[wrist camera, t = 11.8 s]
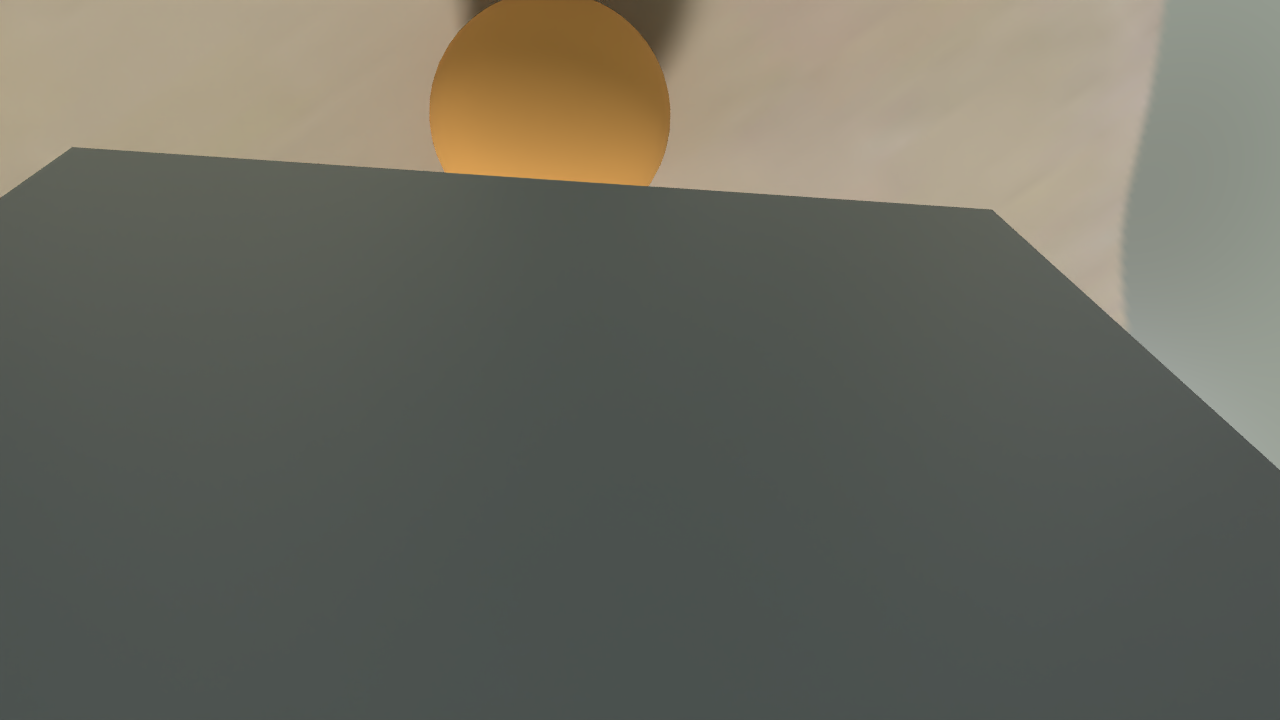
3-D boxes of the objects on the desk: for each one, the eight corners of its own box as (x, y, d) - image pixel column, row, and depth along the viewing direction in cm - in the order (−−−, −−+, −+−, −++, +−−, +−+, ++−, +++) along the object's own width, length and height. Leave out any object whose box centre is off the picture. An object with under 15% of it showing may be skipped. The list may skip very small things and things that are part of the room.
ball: (425, 281, 24) (444, 141, 27) (665, 289, 24) (653, 149, 28) (410, 70, 20) (434, -61, 24) (691, 83, 21) (674, -47, 24)
